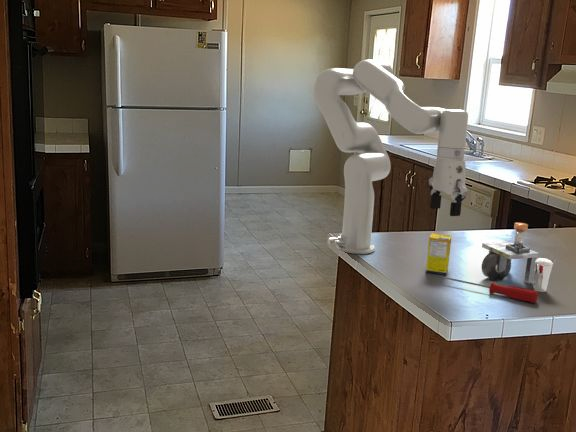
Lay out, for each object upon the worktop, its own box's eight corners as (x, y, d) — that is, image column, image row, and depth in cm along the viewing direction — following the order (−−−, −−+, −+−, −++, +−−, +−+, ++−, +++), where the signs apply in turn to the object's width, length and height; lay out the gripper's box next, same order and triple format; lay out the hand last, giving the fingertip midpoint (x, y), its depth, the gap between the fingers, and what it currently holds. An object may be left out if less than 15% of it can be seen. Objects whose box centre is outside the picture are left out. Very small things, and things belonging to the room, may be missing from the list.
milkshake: (550, 295, 164) (555, 260, 161) (529, 290, 166) (534, 256, 164) (552, 290, 168) (558, 256, 165) (532, 286, 170) (537, 252, 168)
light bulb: (516, 251, 170) (520, 226, 168) (508, 247, 173) (511, 222, 172) (527, 250, 171) (530, 225, 170) (518, 247, 174) (521, 222, 173)
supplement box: (447, 269, 181) (452, 234, 178) (446, 275, 175) (450, 239, 173) (427, 267, 183) (431, 232, 180) (425, 272, 177) (429, 237, 175)
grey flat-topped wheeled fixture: (497, 287, 168) (501, 252, 165) (470, 273, 179) (474, 240, 176) (533, 283, 172) (539, 249, 170) (505, 270, 183) (510, 238, 181)
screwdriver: (444, 281, 171) (445, 269, 170) (537, 301, 159) (539, 289, 158) (440, 285, 168) (441, 273, 167) (535, 305, 156) (537, 293, 155)
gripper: (480, 157, 164) (474, 218, 168) (443, 149, 180) (438, 205, 184) (458, 157, 161) (451, 219, 165) (422, 149, 177) (417, 206, 181)
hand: (444, 212), depth 175 cm, fingers open, 9 cm apart
